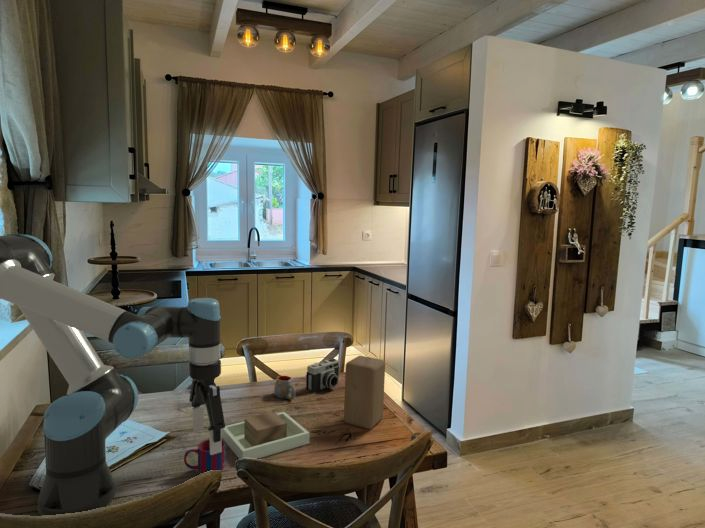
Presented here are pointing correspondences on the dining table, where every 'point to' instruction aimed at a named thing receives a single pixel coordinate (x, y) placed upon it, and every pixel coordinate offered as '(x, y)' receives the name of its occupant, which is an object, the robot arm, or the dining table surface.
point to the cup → (207, 458)
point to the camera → (322, 375)
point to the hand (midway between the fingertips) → (206, 441)
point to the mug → (284, 388)
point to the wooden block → (364, 391)
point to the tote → (244, 449)
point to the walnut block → (264, 428)
